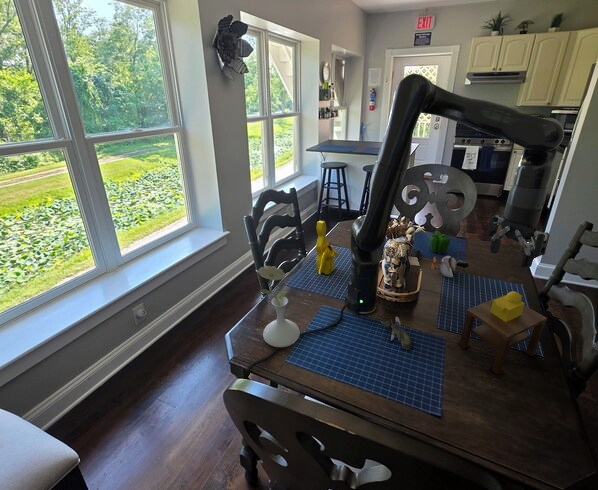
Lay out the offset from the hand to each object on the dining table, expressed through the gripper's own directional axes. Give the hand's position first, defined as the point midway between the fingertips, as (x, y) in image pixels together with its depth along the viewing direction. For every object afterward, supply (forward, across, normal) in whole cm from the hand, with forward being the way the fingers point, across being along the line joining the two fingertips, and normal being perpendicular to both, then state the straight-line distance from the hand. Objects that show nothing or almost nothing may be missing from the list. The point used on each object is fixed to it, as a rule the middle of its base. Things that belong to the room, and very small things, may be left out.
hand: (508, 259), depth 86 cm
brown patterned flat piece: (+28, -56, +10) cm, 63 cm away
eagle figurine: (+29, -12, -24) cm, 39 cm away
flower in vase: (+29, -28, -56) cm, 69 cm away
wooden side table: (+28, +4, -1) cm, 28 cm away
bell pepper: (+28, -49, +30) cm, 64 cm away
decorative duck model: (+28, -31, +20) cm, 46 cm away
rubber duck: (+15, +4, -1) cm, 15 cm away
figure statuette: (+29, -57, -25) cm, 68 cm away
